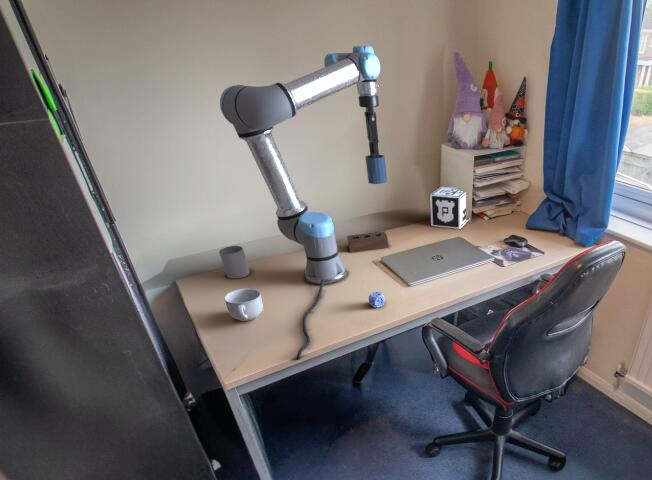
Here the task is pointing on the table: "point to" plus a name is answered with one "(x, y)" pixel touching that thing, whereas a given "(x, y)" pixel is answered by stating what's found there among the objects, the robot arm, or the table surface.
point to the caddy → (367, 241)
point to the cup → (234, 262)
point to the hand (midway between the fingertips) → (375, 159)
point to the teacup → (244, 304)
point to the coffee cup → (376, 169)
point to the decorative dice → (376, 299)
